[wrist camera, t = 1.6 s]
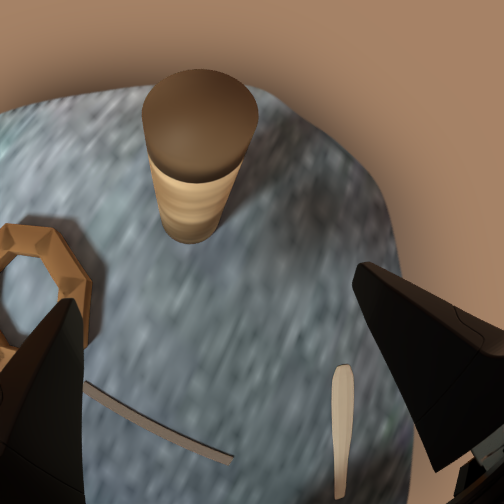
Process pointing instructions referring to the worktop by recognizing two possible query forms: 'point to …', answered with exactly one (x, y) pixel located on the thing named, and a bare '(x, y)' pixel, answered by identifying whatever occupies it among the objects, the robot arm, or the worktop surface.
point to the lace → (155, 426)
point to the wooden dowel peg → (196, 147)
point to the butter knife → (342, 424)
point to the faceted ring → (57, 263)
